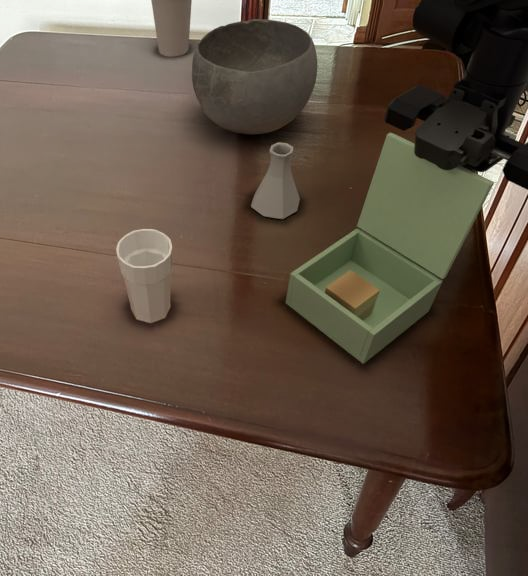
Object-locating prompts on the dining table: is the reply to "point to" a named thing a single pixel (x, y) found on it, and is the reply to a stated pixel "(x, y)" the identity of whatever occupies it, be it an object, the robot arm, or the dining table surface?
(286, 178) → the flask
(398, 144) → the lid
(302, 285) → the file box
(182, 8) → the coffee cup
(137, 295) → the cup
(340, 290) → the block
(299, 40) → the bowl
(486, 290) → the dining table surface
